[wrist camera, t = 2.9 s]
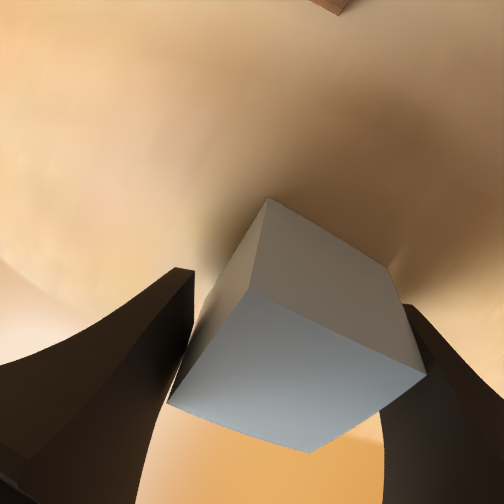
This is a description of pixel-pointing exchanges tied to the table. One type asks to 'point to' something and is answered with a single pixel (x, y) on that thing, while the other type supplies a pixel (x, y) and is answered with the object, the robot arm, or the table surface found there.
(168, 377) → the robot arm
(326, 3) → the tower base
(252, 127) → the table surface
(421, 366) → the cube
